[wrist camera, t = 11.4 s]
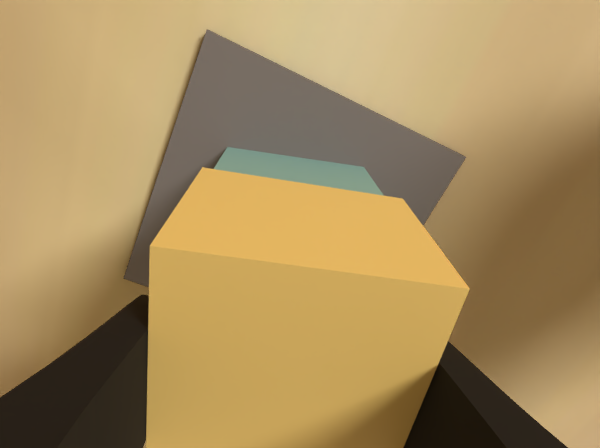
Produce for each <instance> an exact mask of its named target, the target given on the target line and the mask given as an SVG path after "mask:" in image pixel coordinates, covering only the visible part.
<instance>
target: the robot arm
mask: <svg viewBox="0 0 600 448" xmlns="http://www.w3.org/2000/svg"><path fill="white" fill-rule="evenodd" d="M148 314H149V296H148V295H141V296H139V297H138V298H136V299H135V300H134V301H132V302H131V303H130V304H128V305H127V306H126V307H124V308H123V309H122V310H121V311H119V312H118V313H117V314H116V315H114V316H113V317H112V318H110V319H109V320H108V321H107V322H105V323H104V324H103V325H101V326H100V327H99V328H98V329H96V330H95V331H94V332H92V333H91V334H90V335H88V336H87V337H86V338H84V339H83V340H82V341H80V342H79V343H78V344H76V345H75V346H74V347H72V348H71V349H70V350H68V351H67V352H65V353H64V354H63V355H61V356H60V357H59V358H57V359H56V360H55V361H53V362H52V363H50V364H49V365H48V366H46V367H45V368H43V369H42V370H40V371H39V372H37V373H36V374H34V375H33V376H31V377H30V378H28V379H27V380H26V381H24V382H23V383H21V384H20V385H18V386H17V387H15V388H14V389H12V390H11V391H9V392H8V393H6V394H5V395H3V396H2V397H0V448H143V446H144V443H145V441H146V425H147V369H148ZM403 448H568V447H566V446H565V445H564V444H563V443H562V442H560V441H559V440H558V439H557V438H556V437H554V436H553V435H552V434H551V433H550V432H548V431H547V430H546V429H545V428H544V427H543V426H541V425H540V424H539V423H538V422H537V421H536V420H534V419H533V418H532V417H531V416H530V415H529V414H528V413H526V412H525V411H524V410H523V409H522V408H521V407H520V406H519V405H517V404H516V403H515V402H514V401H513V400H512V399H511V398H510V397H509V396H507V395H506V394H505V393H504V392H503V391H502V390H501V389H500V388H499V387H498V386H496V385H495V384H494V383H493V382H492V381H491V380H490V379H489V378H488V377H487V376H486V375H484V374H483V373H482V372H481V371H480V370H479V369H478V368H477V367H476V366H475V365H474V364H473V363H471V362H470V361H469V360H468V359H467V358H466V357H465V356H464V355H463V354H462V353H461V352H459V351H458V350H457V349H456V348H455V347H454V346H453V345H452V344H451V343H449V342H447V345H446V347H445V349H444V352H443V354H442V357H441V359H440V361H439V364H438V366H437V369H436V371H435V373H434V376H433V378H432V380H431V383H430V385H429V388H428V390H427V392H426V395H425V397H424V400H423V402H422V404H421V407H420V409H419V411H418V414H417V416H416V419H415V421H414V423H413V426H412V428H411V431H410V433H409V435H408V438H407V440H406V442H405V445H404V447H403Z"/></svg>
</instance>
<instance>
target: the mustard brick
mask: <svg viewBox="0 0 600 448" xmlns="http://www.w3.org/2000/svg"><path fill="white" fill-rule="evenodd" d="M469 290H470V288H469V287H468V286H467V284H466V283H465V282H464V280H463V279H462V278H461V276H460V275H459V274H458V272H457V271H456V270H455V268H454V267H453V266H452V264H451V263H450V261H449V260H448V259H447V257H446V256H445V255H444V253H443V252H442V251H441V249H440V248H439V247H438V245H437V244H436V243H435V241H434V240H433V239H432V237H431V236H430V234H429V233H428V232H427V230H426V229H425V228H424V226H423V225H422V224H421V222H420V221H419V220H418V218H417V217H416V216H415V214H414V213H413V212H412V210H411V209H410V208H409V206H408V205H407V203H406V202H405V201H404V199H402V198H396V197H390V196H383V195H377V194H370V193H364V192H357V191H351V190H345V189H338V188H332V187H325V186H319V185H313V184H306V183H300V182H293V181H287V180H281V179H274V178H268V177H261V176H255V175H248V174H242V173H236V172H229V171H223V170H216V169H210V168H204V167H202V169H201V170H200V172H199V173H198V175H197V176H196V178H195V179H194V181H193V182H192V184H191V185H190V187H189V188H188V190H187V191H186V193H185V194H184V196H183V197H182V199H181V200H180V202H179V203H178V204H177V206H176V207H175V209H174V210H173V212H172V213H171V215H170V216H169V218H168V219H167V221H166V222H165V224H164V225H163V227H162V228H161V230H160V231H159V233H158V234H157V236H156V237H155V239H154V240H153V242H152V243H151V245H150V258H149V314H148V369H147V425H146V448H403V447H404V445H405V442H406V440H407V438H408V435H409V433H410V431H411V428H412V426H413V423H414V421H415V419H416V416H417V414H418V411H419V409H420V407H421V404H422V402H423V400H424V397H425V395H426V392H427V390H428V388H429V385H430V383H431V380H432V378H433V376H434V373H435V371H436V369H437V366H438V364H439V361H440V359H441V357H442V354H443V352H444V349H445V347H446V345H447V342H448V340H449V337H450V335H451V333H452V330H453V328H454V326H455V323H456V321H457V318H458V316H459V314H460V311H461V309H462V306H463V304H464V302H465V299H466V297H467V295H468V292H469Z"/></svg>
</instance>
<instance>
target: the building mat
mask: <svg viewBox="0 0 600 448" xmlns="http://www.w3.org/2000/svg"><path fill="white" fill-rule="evenodd" d="M227 147H231V148H238V149H245V150H252V151H259V152H265V153H272V154H279V155H286V156H293V157H299V158H306V159H313V160H320V161H327V162H334V163H340V164H347V165H354V166H361V167H364V168H365V169H366V171H367V172H368V174H369V175H370V176H371V178H372V179H373V181H374V182H375V184H376V185H377V186H378V188H379V189H380V191H381V192H382V193H383V195H384V196H390V197H396V198H402V199H404V201H405V202H406V203H407V205H408V206H409V208H410V209H411V210H412V212H413V213H414V214H415V216H416V217H417V218H418V220H419V221H420V222H421V224H422V225H424V223H425V222H426V220H427V219H428V217H429V216H430V214H431V212H432V211H433V209H434V208H435V206H436V204H437V203H438V201H439V200H440V198H441V196H442V195H443V193H444V192H445V190H446V188H447V187H448V185H449V184H450V182H451V181H452V179H453V177H454V176H455V174H456V173H457V171H458V169H459V168H460V166H461V165H462V163H463V161H464V160H465V158H466V157H465V156H463V155H461V154H459V153H457V152H455V151H453V150H451V149H449V148H447V147H445V146H443V145H441V144H439V143H437V142H435V141H433V140H431V139H429V138H427V137H425V136H423V135H421V134H419V133H416V132H414V131H412V130H410V129H408V128H406V127H404V126H402V125H400V124H398V123H396V122H394V121H392V120H390V119H388V118H386V117H384V116H382V115H380V114H378V113H376V112H374V111H372V110H370V109H368V108H366V107H364V106H362V105H360V104H358V103H356V102H354V101H352V100H350V99H347V98H345V97H343V96H341V95H339V94H337V93H335V92H333V91H331V90H329V89H327V88H325V87H323V86H321V85H319V84H317V83H315V82H313V81H311V80H309V79H307V78H305V77H303V76H301V75H299V74H297V73H295V72H293V71H291V70H289V69H287V68H285V67H283V66H281V65H278V64H276V63H274V62H272V61H270V60H268V59H266V58H264V57H262V56H260V55H258V54H256V53H254V52H252V51H250V50H248V49H246V48H244V47H242V46H240V45H238V44H236V43H234V42H232V41H230V40H228V39H226V38H224V37H222V36H220V35H218V34H216V33H214V32H212V31H210V30H207V31H206V34H205V37H204V40H203V43H202V46H201V49H200V52H199V54H198V57H197V60H196V63H195V66H194V69H193V72H192V75H191V78H190V81H189V84H188V87H187V90H186V93H185V96H184V99H183V102H182V105H181V108H180V111H179V114H178V117H177V120H176V123H175V126H174V129H173V132H172V135H171V138H170V141H169V144H168V147H167V150H166V153H165V156H164V159H163V162H162V165H161V168H160V171H159V174H158V177H157V180H156V183H155V186H154V189H153V192H152V195H151V198H150V201H149V204H148V207H147V210H146V213H145V216H144V219H143V222H142V225H141V228H140V231H139V234H138V237H137V240H136V243H135V246H134V249H133V252H132V255H131V258H130V260H129V263H128V266H127V269H126V272H125V275H124V279H127V280H130V281H132V282H135V283H138V284H141V285H144V286H147V287H149V258H150V245H151V243H152V242H153V240H154V239H155V237H156V236H157V234H158V233H159V231H160V230H161V228H162V227H163V225H164V224H165V222H166V221H167V219H168V218H169V216H170V215H171V213H172V212H173V210H174V209H175V207H176V206H177V204H178V203H179V202H180V200H181V199H182V197H183V196H184V194H185V193H186V191H187V190H188V188H189V187H190V185H191V184H192V182H193V181H194V179H195V178H196V176H197V175H198V173H199V172H200V170H201V169H202V167H204V168H210V169H214V167H215V166H216V164H217V163H218V161H219V159H220V158H221V156H222V155H223V153H224V152H225V150H226V148H227Z"/></svg>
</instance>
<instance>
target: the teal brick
mask: <svg viewBox="0 0 600 448" xmlns="http://www.w3.org/2000/svg"><path fill="white" fill-rule="evenodd" d="M214 169H216V170H223V171H229V172H236V173H242V174H248V175H255V176H261V177H268V178H274V179H281V180H287V181H293V182H300V183H306V184H313V185H319V186H325V187H332V188H338V189H345V190H351V191H357V192H364V193H370V194H377V195H383V193H382V192H381V191H380V189H379V188H378V186H377V185H376V184H375V182H374V181H373V179H372V178H371V176H370V175H369V174H368V172H367V171H366V169H365V168H364V167H361V166H354V165H347V164H340V163H334V162H327V161H320V160H313V159H306V158H299V157H293V156H286V155H279V154H272V153H265V152H259V151H252V150H245V149H238V148H231V147H227V148H226V150H225V152H224V153H223V155H222V156H221V158H220V159H219V161H218V163H217V164H216V166H215V167H214ZM383 196H384V195H383Z"/></svg>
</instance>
